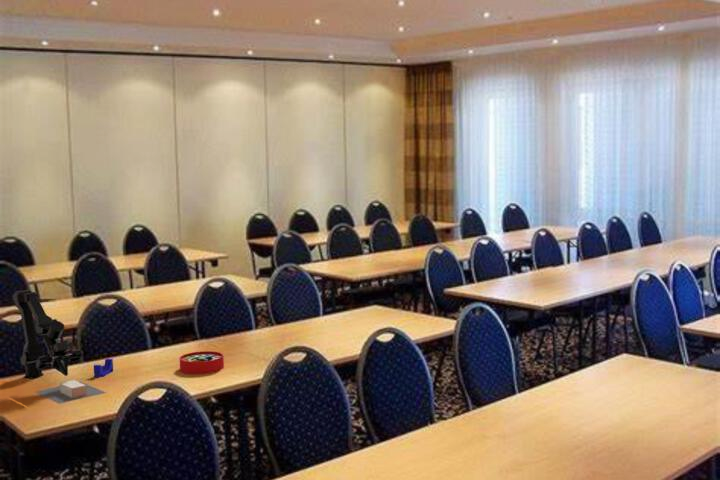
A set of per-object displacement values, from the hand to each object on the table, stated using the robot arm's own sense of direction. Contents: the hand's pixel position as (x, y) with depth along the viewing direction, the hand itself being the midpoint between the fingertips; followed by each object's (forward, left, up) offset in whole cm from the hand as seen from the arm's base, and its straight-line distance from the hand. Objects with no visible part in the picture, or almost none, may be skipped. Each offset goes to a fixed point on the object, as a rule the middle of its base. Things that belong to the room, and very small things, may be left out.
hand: (66, 375), depth 343 cm
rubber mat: (+2, -2, -7) cm, 8 cm away
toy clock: (+39, +46, -8) cm, 61 cm away
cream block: (0, 0, -5) cm, 5 cm away
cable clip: (-1, +27, -8) cm, 28 cm away
